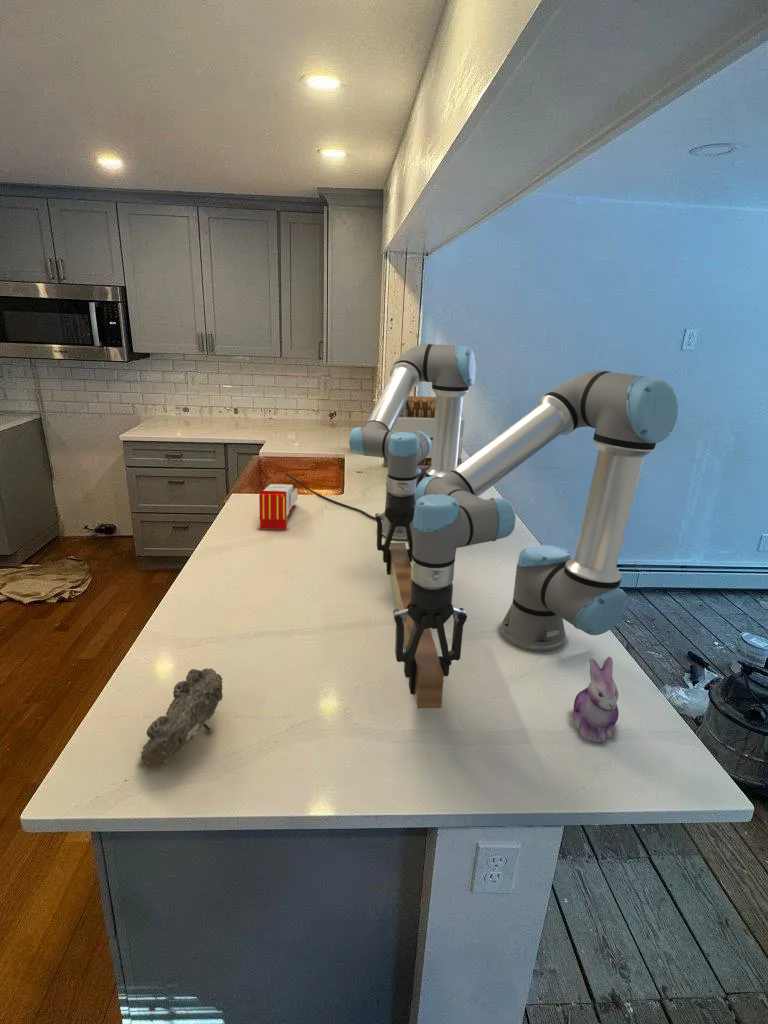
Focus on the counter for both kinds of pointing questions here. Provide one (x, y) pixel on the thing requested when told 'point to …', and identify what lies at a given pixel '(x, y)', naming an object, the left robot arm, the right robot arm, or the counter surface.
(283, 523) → the toy
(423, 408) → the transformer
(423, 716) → the counter surface
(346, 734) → the counter surface
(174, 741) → the fossil
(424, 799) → the counter surface
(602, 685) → the figurine
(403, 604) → the post
